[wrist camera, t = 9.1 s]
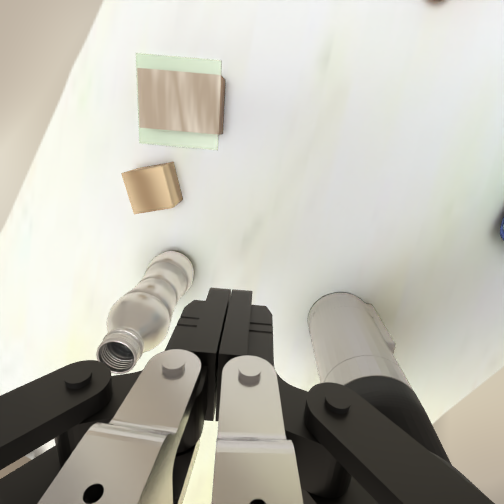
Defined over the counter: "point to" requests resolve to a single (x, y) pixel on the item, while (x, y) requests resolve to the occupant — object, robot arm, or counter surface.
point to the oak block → (152, 188)
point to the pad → (168, 135)
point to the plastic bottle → (145, 312)
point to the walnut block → (181, 101)
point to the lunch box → (502, 229)
